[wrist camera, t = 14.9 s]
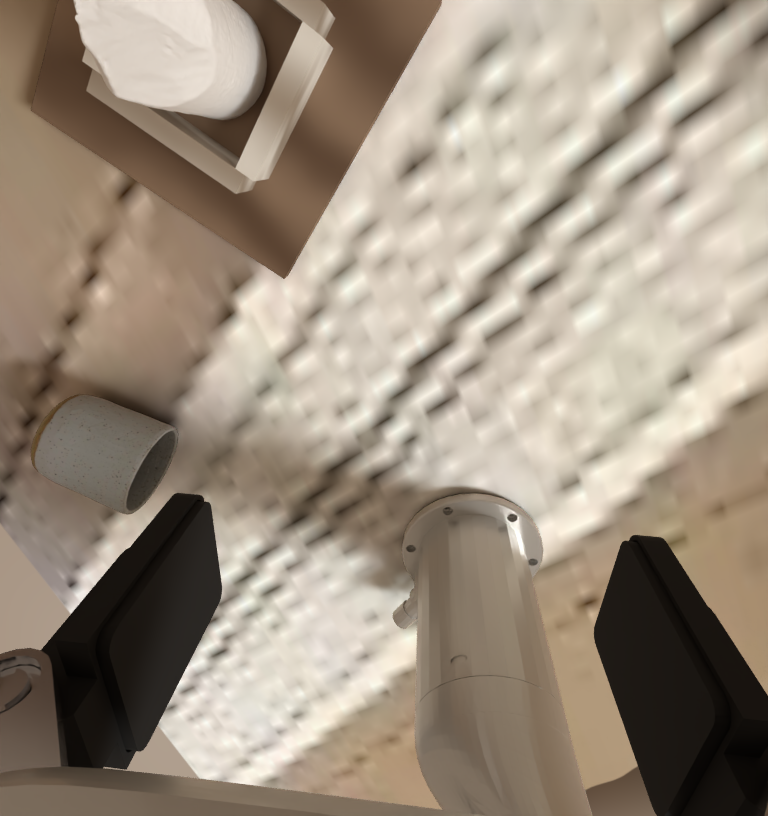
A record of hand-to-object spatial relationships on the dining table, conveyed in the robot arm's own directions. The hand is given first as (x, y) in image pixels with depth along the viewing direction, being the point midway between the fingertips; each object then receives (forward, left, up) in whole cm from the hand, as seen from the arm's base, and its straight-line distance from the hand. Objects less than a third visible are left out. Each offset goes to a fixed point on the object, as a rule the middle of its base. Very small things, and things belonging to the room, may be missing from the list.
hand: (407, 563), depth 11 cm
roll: (+4, +17, -25) cm, 31 cm away
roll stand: (+4, +17, -26) cm, 31 cm away
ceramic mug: (-25, +13, -26) cm, 39 cm away
